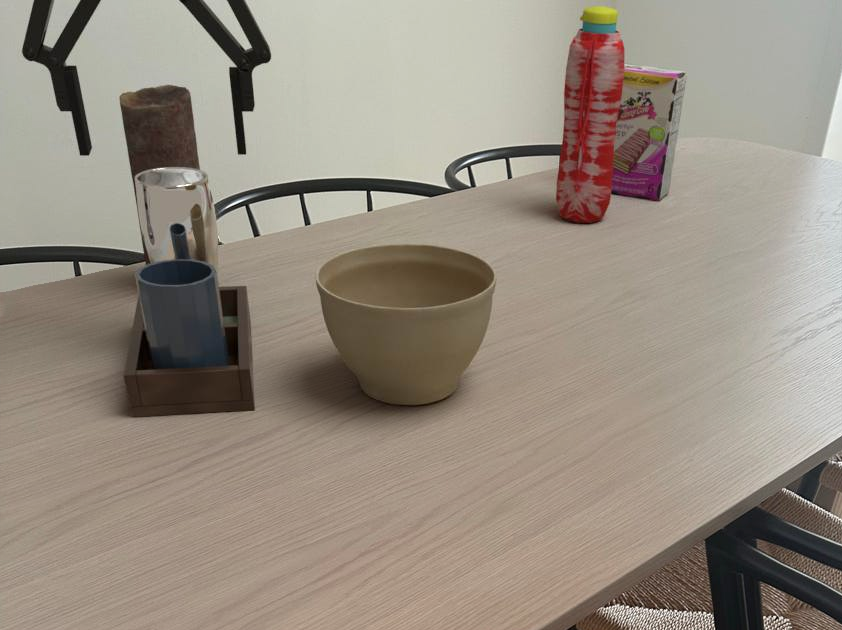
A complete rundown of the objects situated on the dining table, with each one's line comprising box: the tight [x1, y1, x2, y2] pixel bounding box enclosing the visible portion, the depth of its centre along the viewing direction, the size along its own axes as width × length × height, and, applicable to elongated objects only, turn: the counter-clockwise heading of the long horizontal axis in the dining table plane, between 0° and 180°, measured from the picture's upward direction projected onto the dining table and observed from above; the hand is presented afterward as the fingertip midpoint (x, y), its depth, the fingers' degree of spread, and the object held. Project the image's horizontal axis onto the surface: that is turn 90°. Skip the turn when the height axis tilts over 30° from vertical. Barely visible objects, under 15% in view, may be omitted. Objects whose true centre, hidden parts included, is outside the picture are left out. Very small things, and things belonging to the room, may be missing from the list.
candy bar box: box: [611, 62, 688, 202], centre depth 143 cm, size 11×5×16 cm, turn 65°
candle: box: [119, 84, 201, 265], centre depth 107 cm, size 8×7×20 cm
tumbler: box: [134, 259, 230, 370], centre depth 89 cm, size 7×7×10 cm
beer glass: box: [135, 167, 225, 323], centre depth 95 cm, size 7×7×15 cm
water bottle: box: [555, 5, 625, 224], centre depth 131 cm, size 12×8×25 cm, turn 158°
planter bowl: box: [314, 242, 497, 406], centre depth 92 cm, size 16×16×11 cm
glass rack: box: [123, 285, 256, 418], centre depth 96 cm, size 11×21×4 cm, turn 11°
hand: (165, 151), depth 89 cm, fingers open, 13 cm apart
